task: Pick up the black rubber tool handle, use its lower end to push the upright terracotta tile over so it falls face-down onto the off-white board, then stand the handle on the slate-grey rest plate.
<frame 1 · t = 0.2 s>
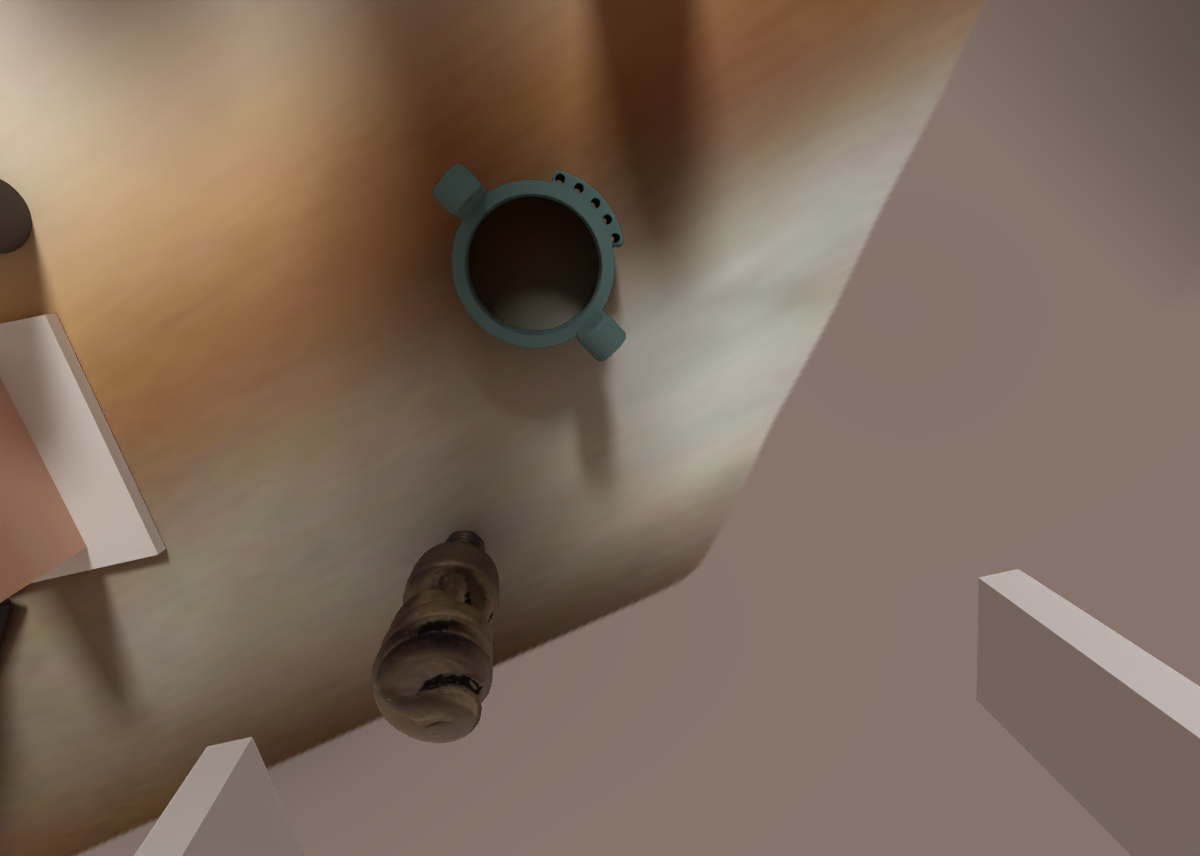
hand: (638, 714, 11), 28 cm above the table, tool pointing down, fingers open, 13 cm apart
light bulb: (465, 545, 40), on the table
tile: (26, 459, 34), point 1 cm above the table, touching board
bracket: (539, 260, 35), on the table
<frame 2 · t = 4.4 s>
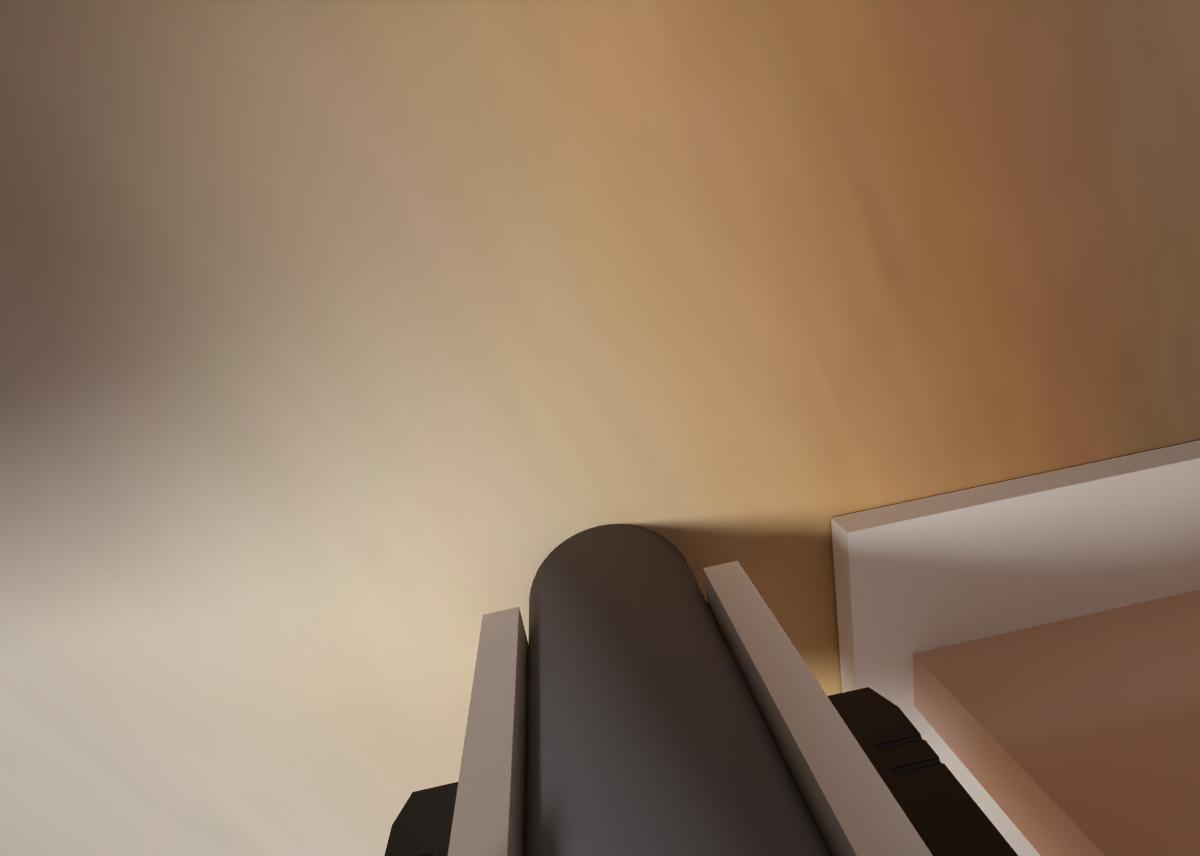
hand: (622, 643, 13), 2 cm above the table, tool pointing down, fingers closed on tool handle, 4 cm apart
tile: (1137, 629, 15), point 1 cm above the table, touching board
tool handle: (613, 600, 14), on the table, touching gripper
board: (1086, 843, 18), on the table
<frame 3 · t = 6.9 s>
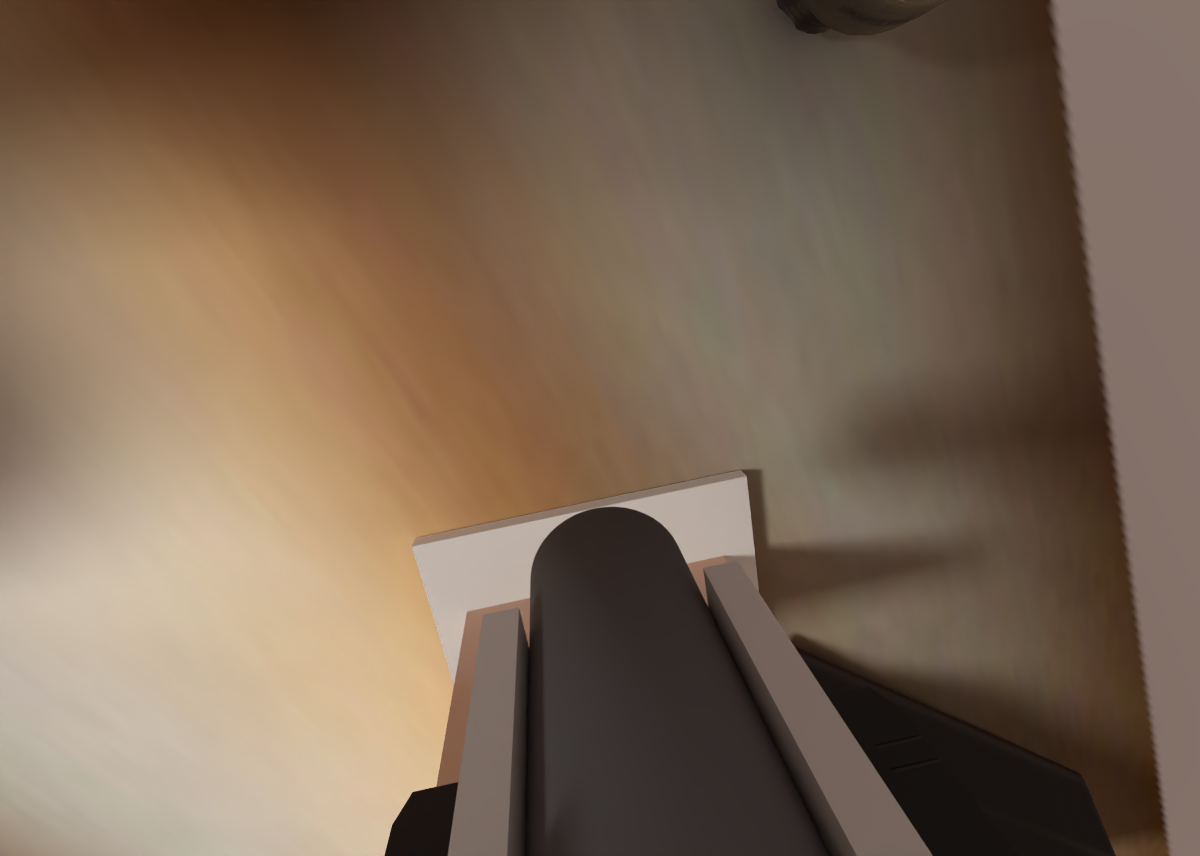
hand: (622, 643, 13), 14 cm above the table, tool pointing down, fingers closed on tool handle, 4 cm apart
barrier: (898, 771, 33), on the table, touching board
light bulb: (805, 5, 22), on the table
tile: (599, 598, 27), point 1 cm above the table, touching board
tool handle: (607, 577, 15), point 11 cm above the table, touching gripper
board: (626, 729, 31), on the table
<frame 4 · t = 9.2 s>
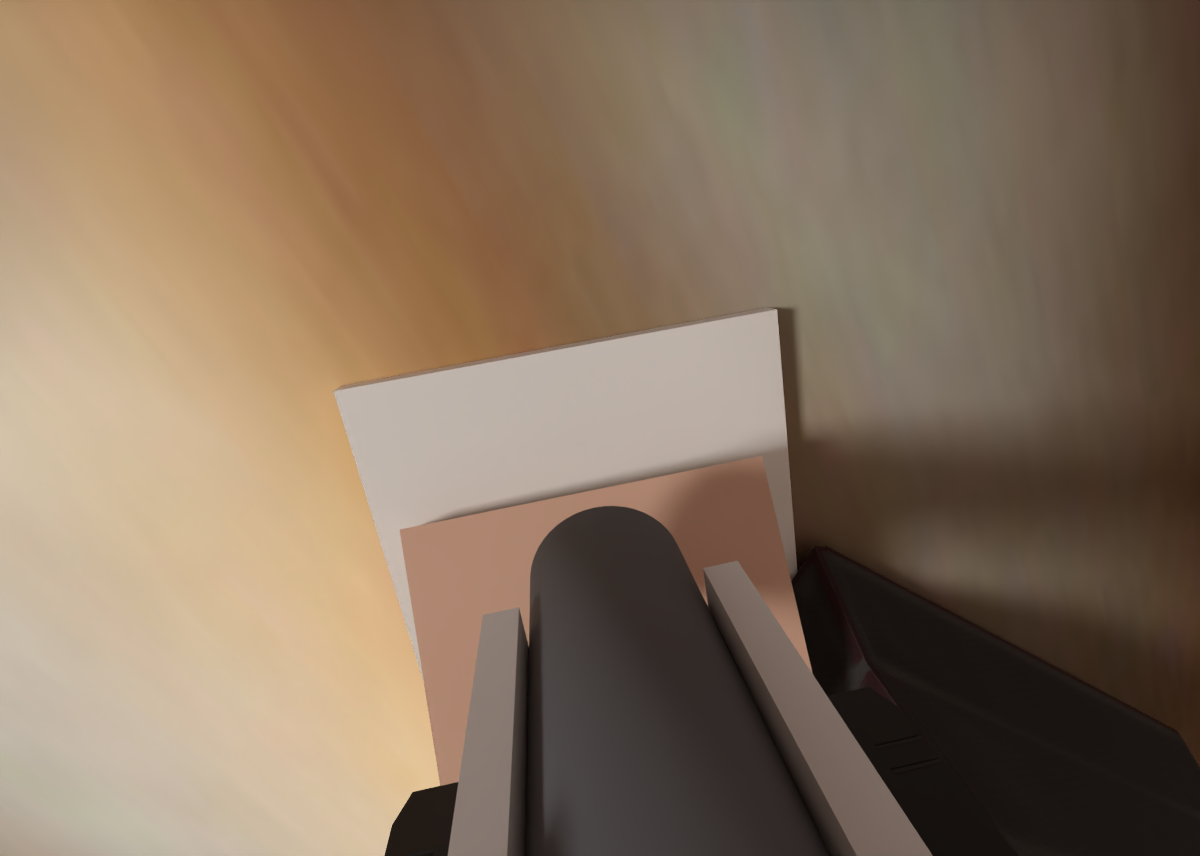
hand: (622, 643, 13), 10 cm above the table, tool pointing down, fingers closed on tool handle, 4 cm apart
barrier: (956, 721, 27), on the table, touching board, tile
tile: (581, 492, 20), point 2 cm above the table, tilted 66°, touching board, barrier
tool handle: (607, 576, 15), point 7 cm above the table, touching gripper
board: (617, 657, 24), on the table
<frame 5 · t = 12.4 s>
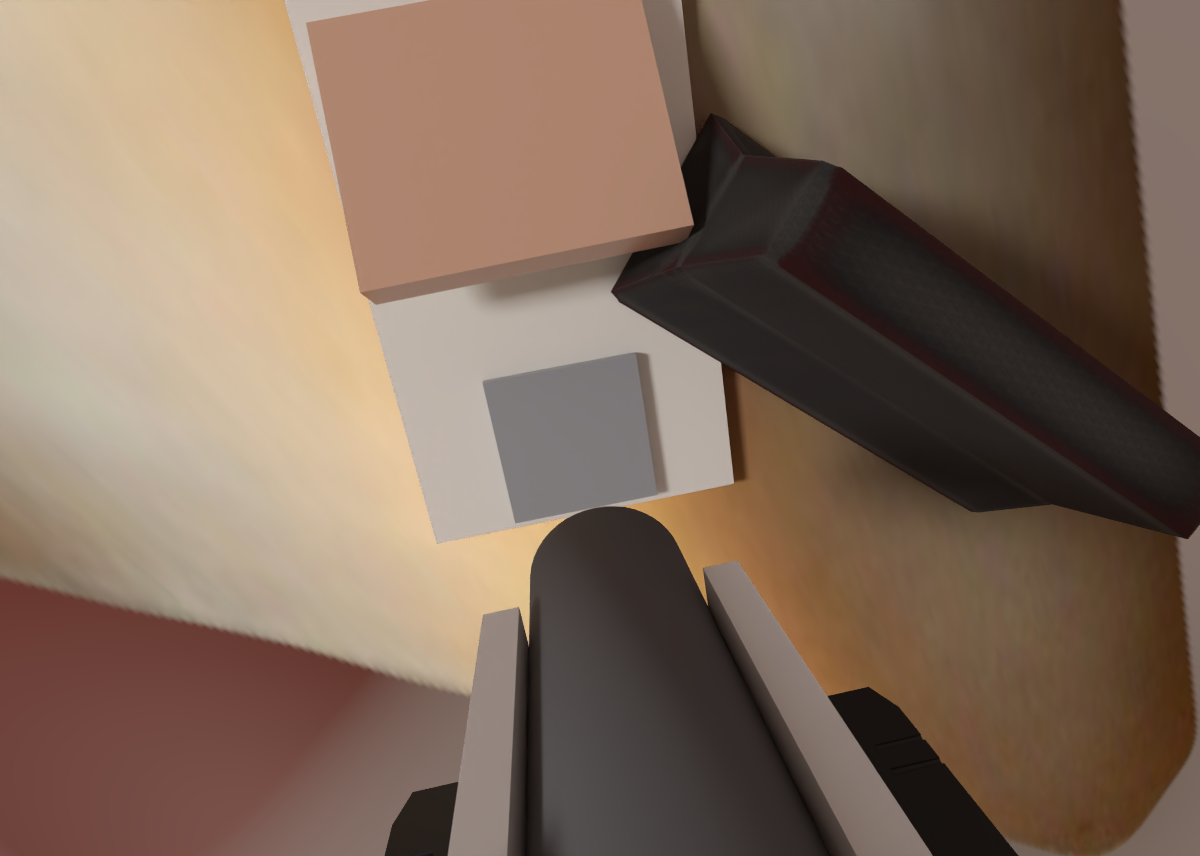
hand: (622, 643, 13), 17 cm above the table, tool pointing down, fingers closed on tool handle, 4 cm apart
barrier: (858, 338, 29), on the table, touching board, tile
tile: (475, 9, 22), point 2 cm above the table, tilted 70°, touching board, barrier
tool handle: (607, 577, 15), point 14 cm above the table, touching gripper
board: (535, 242, 26), on the table
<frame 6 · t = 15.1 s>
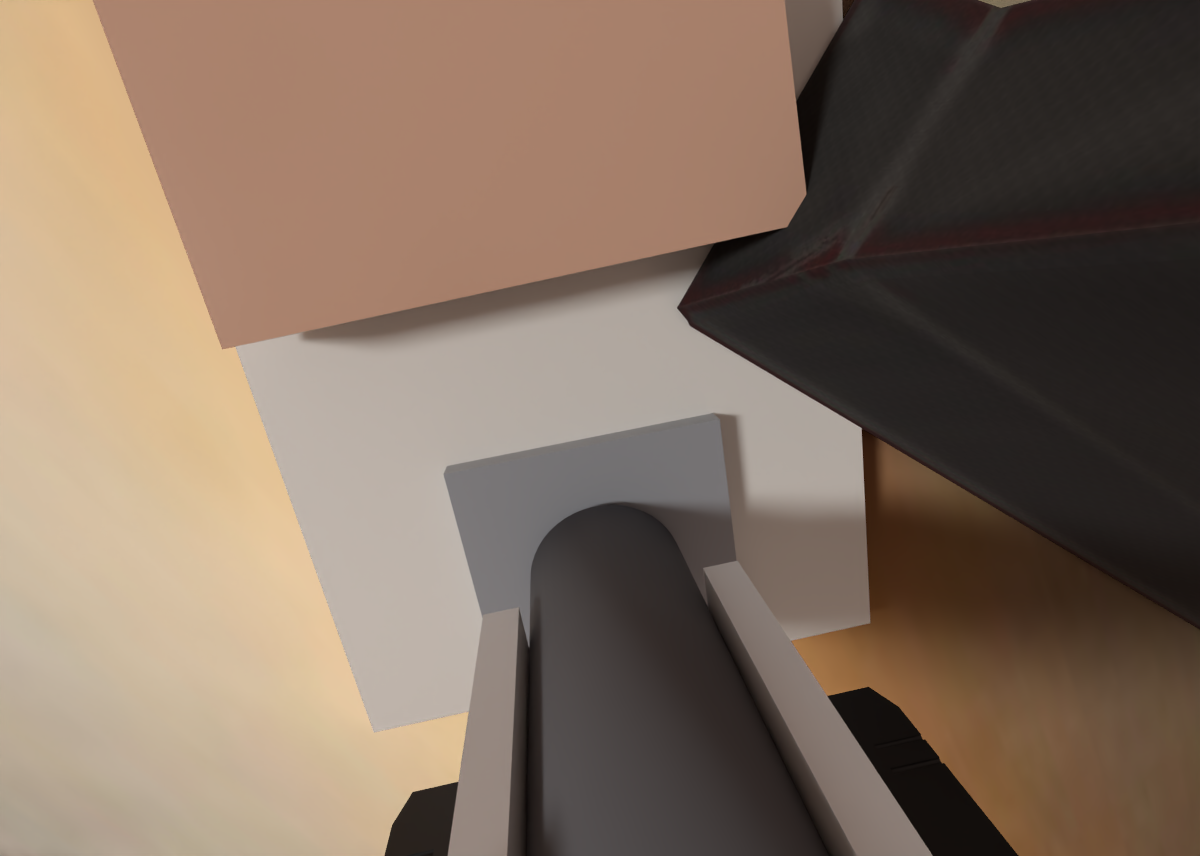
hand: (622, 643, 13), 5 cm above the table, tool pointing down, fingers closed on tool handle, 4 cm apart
barrier: (1088, 381, 17), on the table, touching board, tile
tool handle: (607, 575, 15), point 2 cm above the table, touching gripper
board: (538, 218, 14), on the table
when the fingers open (5 cm above the table, at t = 15.3 s): tool handle stays where it is, resting on board.
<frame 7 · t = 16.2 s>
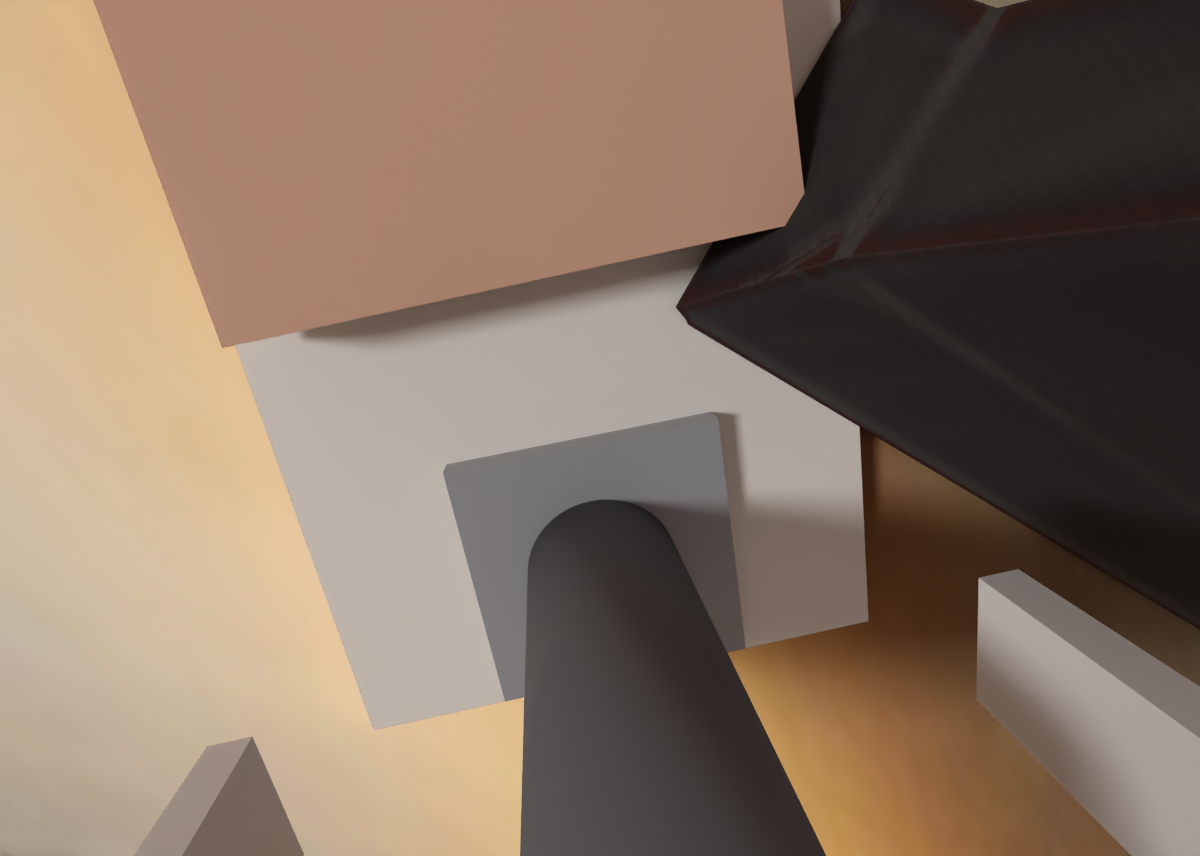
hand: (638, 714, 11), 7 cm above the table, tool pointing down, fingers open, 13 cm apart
barrier: (1086, 380, 17), on the table, touching board, tile
tool handle: (603, 569, 16), point 1 cm above the table, touching board
board: (537, 218, 14), on the table
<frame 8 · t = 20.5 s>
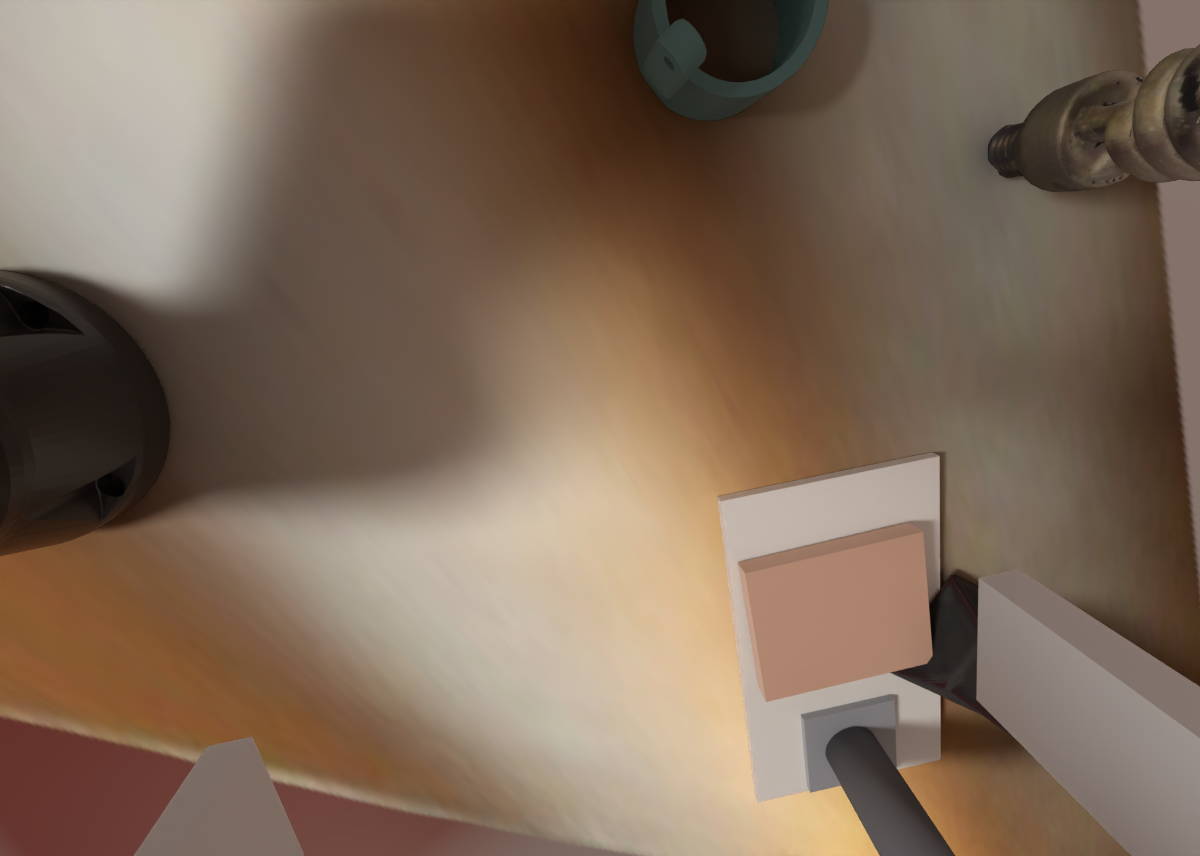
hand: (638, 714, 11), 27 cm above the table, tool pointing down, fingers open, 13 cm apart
barrier: (1022, 673, 46), on the table, touching board, tile
light bulb: (999, 155, 35), on the table
tile: (828, 547, 39), point 2 cm above the table, tilted 87°, touching board, barrier
tool handle: (851, 748, 45), point 1 cm above the table, touching board
board: (836, 636, 43), on the table
bracket: (703, 29, 32), on the table
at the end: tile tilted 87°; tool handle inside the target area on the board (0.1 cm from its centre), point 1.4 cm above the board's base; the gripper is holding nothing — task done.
